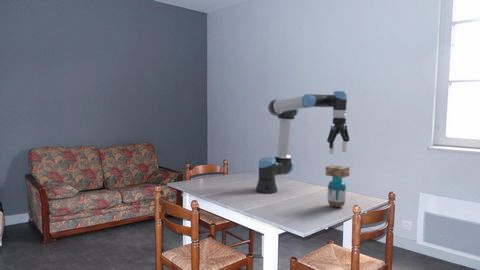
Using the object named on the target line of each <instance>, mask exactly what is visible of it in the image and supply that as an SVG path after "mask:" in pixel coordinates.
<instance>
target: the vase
mask: <svg viewBox="0 0 480 270" xmlns="http://www.w3.org/2000/svg"><path fill="white" fill-rule="evenodd" d="M346 192H347V185H346V183H345V181H343V178H340V177H334V176H332V179H331V181H330V180H329V182H328V186H327V204H328V205H329V206H331V207H333V208H341V207H343V206H344V205H345V204H346V198H347V197H346V195H347V193H346Z"/></svg>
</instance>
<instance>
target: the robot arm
mask: <svg viewBox="0 0 480 270" xmlns="http://www.w3.org/2000/svg"><path fill="white" fill-rule="evenodd" d="M347 94H348V92H347V91H345V90H342V91H341V90H339V91H338V90H336V91H334V92H333V94H313V93H307V94H304V95H302V96H295V97H292V98H291V97H290V98H286V99H277V98H276V99H273V100H271V101H270V102H269V103H268V106H267V110H268V112H269V113H270V114H271V115H272V116H274V117H277V119H278V120H279V126H278V127H279V128H278V141H277V142H278V143H277V152H276V154H275V155H274V157H273V156H268V157H262V158H260V159H259V161H258V180H257V184H256V186H255V192H257V193H260V194H275V193H277V192H278V187H277V181H276V176H281V175H289V174H291V173H292V172H293V171H294V167H295V163H294V160H293V159H292V156H291V155H290V150H291V138H292V127H293V126H292V125H293V124H292V123H293V121H295V117H296V116H298V114H299V110H301V109H308V108H332V111H333V112H332V117H333V118H332V124H333V125H331V126H330V130H329V134H328V137H327V139H326V142H327V143H328V146H329V149H328V151H329V152H328V154H329V155H334V154H335V140H336V138H337V136H338V135H339V134H340V136H341V139H342V141H341V142H342V143H341V144H342V145H341V148H342V149H341V152H342V153H347V152H348V151H347V150H348V142H350V137H349V132H348V126H347V124H346V123H347V118H346V117H347V105H348V101H347V100H348V95H347Z"/></svg>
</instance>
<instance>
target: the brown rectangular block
mask: <svg viewBox="0 0 480 270" xmlns="http://www.w3.org/2000/svg"><path fill="white" fill-rule="evenodd" d="M325 176H327V177H333V176H334V177H340V178H342V179H344V178H346V177H349V176H350V167H349V166H342V165H341V166H340V165H334V164H331V165H329V166H328V165H327V166H325Z"/></svg>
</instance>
